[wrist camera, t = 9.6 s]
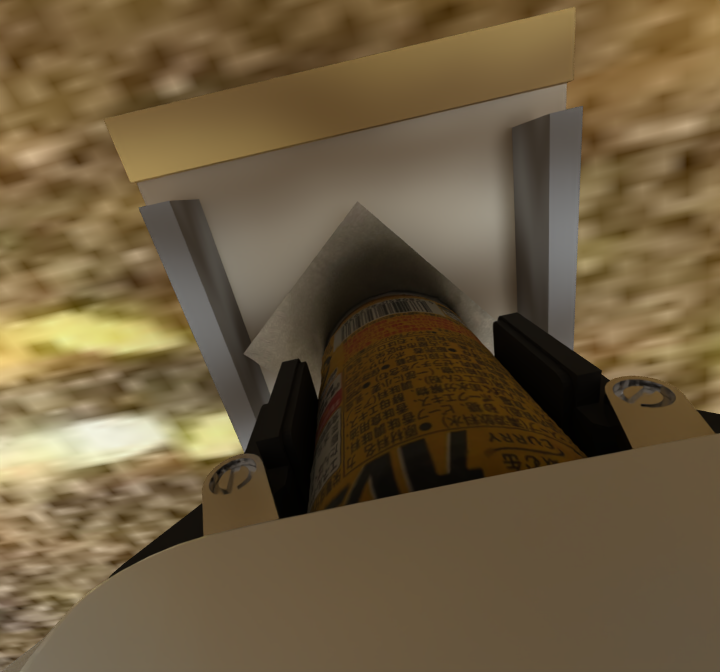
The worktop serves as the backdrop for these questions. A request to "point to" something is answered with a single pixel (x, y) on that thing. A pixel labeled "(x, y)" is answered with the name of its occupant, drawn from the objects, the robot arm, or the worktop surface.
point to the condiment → (400, 374)
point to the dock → (367, 183)
